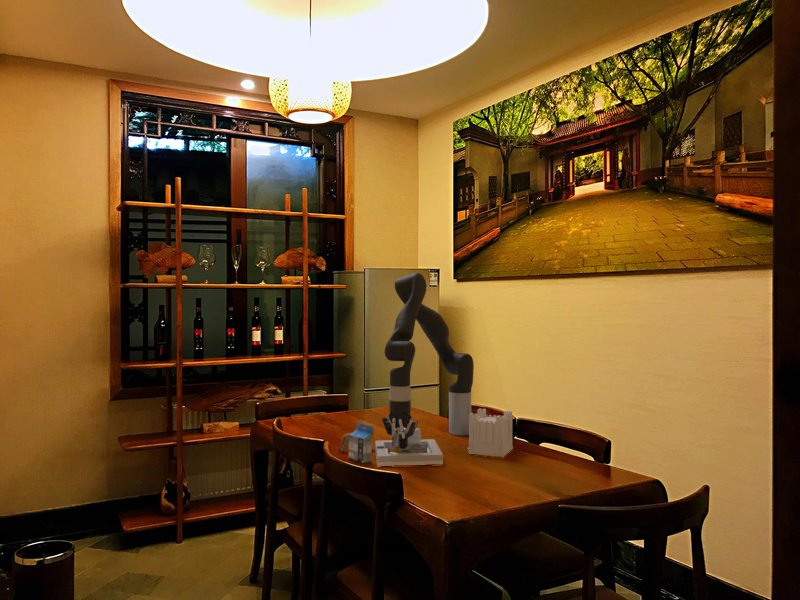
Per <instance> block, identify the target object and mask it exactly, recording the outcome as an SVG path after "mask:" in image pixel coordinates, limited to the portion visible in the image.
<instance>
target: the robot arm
mask: <svg viewBox="0 0 800 600" xmlns="http://www.w3.org/2000/svg"><path fill="white" fill-rule="evenodd" d="M394 289H395V292H396V294H397V296H398V298H399V299H400V300H401V301H402V303H403V305H404V306H403V307H402V308H401V310H400V311H399V313H398V314H397V317H396V319H395V323H394V328H393V331H392V333H391V336H390V337H389V338H388V341H387V342H386V345H385V347H384V357H385V358H386V360H388V361H390V362H403V365H402V366H399V367H394V368H392V369H390V372H389V392H388V393H389V394H388V401H389V403H388V404H389V405H388V410H389V414H388V416H387V417H386V416H385V417H384V418H382V420H381V421H382V423H383V426H384V428H385V431H386V433H387V435H390V436H391V438H392V439H391V440H392V444H393V434H394V433H398V432H401V433H402V449H405V448H406V447H407V446H408V437H410V436H412V435H413V433H414V431H415V429H416V428H418V427H417V426H418V424H419V421H418V420H414V419H413V418H412V415H411V412H412V411H411V409H412V404H411V403H412V392H411V370H412V365H413V362H414V359H415V355H416V346H415V344H414V343H413V341H411V340H412V339H413V336H414V331H415V325H416V322H417V323H418V325H419V326H420V328H421V330H422V331H423V333H424V334H425V336H426V338H428V340H429V342H430V343H431V345H432V346H433V348H434V349H435V351H436V353H437V355H438V356H439V357H438V358H439V359H440V360H441V363H442V365H443V367H444V368H445V370H446V372H447V373H449V374H451V375H454V376H455V375H456V376H457V378H456V381H455V382H453V383H450V384H449V386H448V433H449V435H453V436H469V414H471V413H473V410H472V386H473V383H474V368H475V367H474V359H473V356H472V355H471V354H469V353H465V352H456V351H455V350H454V349H453V348H452V346H451V344H450V342H449V340H450V339H449V337H450V331H449V327H448V325H447V323H446V321H445V320H444V319H443V317H442V315H441V314H440V313H438V312H437V311H436V310H434V309H432V308H431V307H429V306H427V305H425V304H423V301H424V298H425V295H426V292H427V282H426V278H425V277H424V275H423V274H421V273H419V272H415V273H414V272H413V273H410V274H406V275H404V276H402V277H399V278H397V279H396V280H395V281H394ZM399 430H400V431H399Z"/></svg>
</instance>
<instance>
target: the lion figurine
mask: <svg viewBox="0 0 800 600" xmlns="http://www.w3.org/2000/svg"><path fill="white" fill-rule="evenodd" d="M368 425H369V426H371V431H372V438H373V436H374V434H375V428H374V425H372V424H368ZM363 429H366V430H367V428H365V427H363ZM351 433H352V432H348V433H344V435H343V436H342V437H341V440H340V445H339V449H338V450H337V452H338V453H339V452H343V451H344V449H343V447H344V446H345V445H346V450H347V451H348V452H349V434H351Z"/></svg>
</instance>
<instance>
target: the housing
mask: <svg viewBox="0 0 800 600" xmlns="http://www.w3.org/2000/svg"><path fill="white" fill-rule="evenodd" d="M391 445H393V444H392V439H391V440H390V439H387V440H386V439H385V440H383V439H382V440H375V441H374V446H375V447H374V450H375V451H374V452H375V458H376V459H377V460H376V466H377V468H378V467H379V468H381V466H392V467H395V466H394V465H426V464H443V465H444V454H443V452H442V451H441V449H440V447H439V445H438V443H437V442H436V440H435V439H429V438H427V439H421V445H424V446H426V447H427V453H394V452H390V453H389V454H388V447H389V446H391Z"/></svg>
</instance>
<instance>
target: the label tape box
mask: <svg viewBox="0 0 800 600" xmlns="http://www.w3.org/2000/svg"><path fill="white" fill-rule="evenodd" d="M369 425H370V424H366V423H361V422H358V421H357V422H356V429H355V430H354V431H353V432H350V433H351V434H349V451H348V459H350V460H353V461H356V462H358V463H362V464H367V463H370V462H371V463H372V445H373V444H372V443H373V441H372V440H373V439H372V438H373V437H372V431H371V426H369ZM364 427H365V428H367V430H366V429H364Z"/></svg>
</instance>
